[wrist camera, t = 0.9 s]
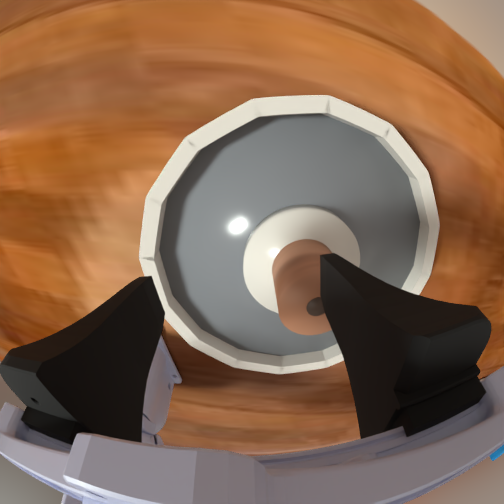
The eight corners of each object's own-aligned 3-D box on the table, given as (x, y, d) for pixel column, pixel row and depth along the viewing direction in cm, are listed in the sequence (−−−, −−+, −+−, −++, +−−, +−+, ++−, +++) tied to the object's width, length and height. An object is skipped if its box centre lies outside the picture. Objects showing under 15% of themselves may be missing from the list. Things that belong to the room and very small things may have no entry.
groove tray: (400, 334, 27) (408, 348, 25) (190, 362, 28) (186, 379, 26) (426, 106, 16) (443, 107, 14) (123, 128, 17) (108, 129, 15)
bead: (333, 291, 21) (351, 329, 17) (274, 298, 21) (280, 340, 17) (335, 235, 19) (358, 267, 15) (269, 242, 19) (275, 278, 15)
